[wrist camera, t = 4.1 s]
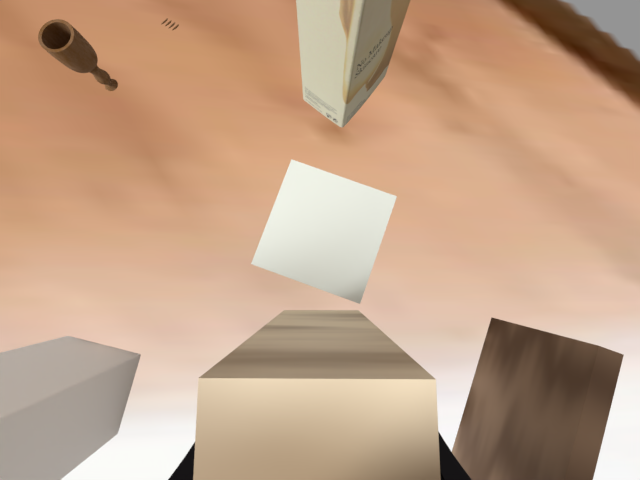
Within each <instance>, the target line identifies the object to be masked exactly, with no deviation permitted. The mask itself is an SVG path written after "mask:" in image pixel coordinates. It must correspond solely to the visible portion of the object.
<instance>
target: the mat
mask: <svg viewBox="0 0 640 480" xmlns="http://www.w3.org/2000/svg"><path fill="white" fill-rule="evenodd" d="M396 198H397V196H395V195H392V194H389V193H386V192H383V191H380V190H378V189H375V188H372V187H369V186H366V185H363V184H360V183H358V182H355V181H352V180H349V179H346V178H343V177H341V176H338V175H335V174H332V173H329V172H326V171H323V170H321V169H318V168H315V167H312V166H309V165H306V164H304V163H301V162H298V161H295V160H292V159H291V162H290V164H289V167H288V170H287V172H286V175H285V177H284V180H283V183H282V185H281V188H280V190H279V193H278V195H277V198H276V201H275V203H274V206H273V208H272V211H271V214H270V216H269V219H268V221H267V224H266V227H265V229H264V232H263V234H262V237H261V239H260V242H259V245H258V247H257V250H256V252H255V255H254V258H253V260H252V263H251V264H252V265H255V266H258V267H261V268H263V269H266V270H269V271H271V272H274V273H277V274H280V275H282V276H285V277H288V278H291V279H293V280H296V281H299V282H301V283H304V284H307V285H310V286H312V287H315V288H318V289H320V290H323V291H326V292H329V293H331V294H334V295H337V296H340V297H342V298H345V299H348V300H350V301H353V302H356V303H359V304H360V303H361V300H362V297H363V294H364V291H365V288H366V285H367V282H368V279H369V276H370V274H371V271H372V268H373V265H374V262H375V259H376V256H377V253H378V250H379V247H380V244H381V241H382V239H383V236H384V233H385V230H386V227H387V224H388V221H389V218H390V215H391V212H392V209H393V207H394V204H395V201H396Z"/></svg>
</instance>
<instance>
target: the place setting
mask: <svg viewBox="0 0 640 480" xmlns="http://www.w3.org/2000/svg"><path fill="white" fill-rule="evenodd" d="M167 20H168V18H167V19H166V20H165V21H163V22H162V24H164V23H165V22H166V21H167ZM171 21H172V20H170V21H169V22H168V23H167V24H166V25H165V26H167V25H169V24H170V23H171ZM162 24H161V25H162ZM174 24H175V22H174V23H173V24H172V25H171V26H170V27H169V28H171V27H172V26H174ZM178 26H179V24H178V25H177V26H175V27H174V28H173V29H172V30H174V29H176V28H177V27H178ZM169 28H168V29H169ZM38 41H39V43H40V45H41V47H42V48H43V49H45V50H46V51H47V52H48V53H49V54H50V55H52V56H53V57H54V58H55V59H57V60H58V61H59V62H61V63H62V64H63V65H65V66H66V67H68V68H69V69H71V70H73V71H75V72H78V73H88V72H90V73H91V74H93V76H94V78H95V79H96V80H97V82H99V83H101V84H104V85H105V88H106V90H108V91H114V90H116V89H117V87H118V82H117V81H116V80H115V79H111V78H110V75H109V74H108V73H107V72H106V71H105V70H102V69H100V68H99V67H98V66H97V62H98V58H97V54H96V52H95V50H94V49H93V47H92V46H91V45H90V44H89V42H88V41H87V40H86V39H85V38H84V37H83V36H82V35H81V34H80V33H79V32H78V31H77V30H76V29H75V28H74V27H73V26H72V25H71V24H69V23H68V22H67V21H65V20H62V19H54V20H50V21H48V22H47V23H45V24H44V25H43V26H42V27H41V29H40V31H39V34H38Z"/></svg>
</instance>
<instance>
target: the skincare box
mask: <svg viewBox="0 0 640 480" xmlns="http://www.w3.org/2000/svg"><path fill="white" fill-rule="evenodd" d="M409 3H410V0H296V6H297V19H298V32H299V46H300V60H301V75H302V89H303V99H304V101H306V102H307V103H308V104H310V105H311V106H312V107H313V108H315V109H316V110H317V111H318V112H320V113H321V114H322V115H324V116H325V117H326V118H328V119H329V120H331V121H332V122H334V123H335V124H337V125H338V126H339V127H341V128H342V127H344V126H345V125H346V124H347V123H348V122H349V121H350V119H351V118H352V117H353V116H354V115H355V114H356V113H357V111H358V110H359V109H360V108H361V107H362V105H363V104H364V103H365V102H366V101H367V99H368V98H369V97H370V95H371V94H372V93H373V92H374V90H375V89H376V88H377V86H378V85H379V84H380V82H381V81H382V80H383V78H384V77H385V75H386V72H387V69H388V66H389V63H390V60H391V57H392V54H393V51H394V48H395V45H396V42H397V39H398V36H399V33H400V30H401V27H402V24H403V21H404V18H405V15H406V12H407V9H408V6H409Z"/></svg>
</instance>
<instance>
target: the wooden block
mask: <svg viewBox="0 0 640 480" xmlns="http://www.w3.org/2000/svg"><path fill="white" fill-rule="evenodd" d="M193 480H441V478H440V456H439V434H438V412H437V390H436V379H435V378H434V377H433V376H432V375H431V374H429V373H428V372H427V371H426V370H425V369H424V368H423V367H422V366H420V365H419V364H418V363H417V362H416V361H415V360H414V359H413V358H411V357H410V356H409V355H408V354H407V353H406V352H405V351H404V350H402V349H401V348H400V347H399V346H398V345H397V344H396V343H395V342H393V341H392V340H391V339H390V338H389V337H388V336H387V335H386V334H384V333H383V332H382V331H381V330H380V329H379V328H378V327H377V326H376V325H374V324H373V323H372V322H371V321H370V320H369V319H368V318H367V317H365V316H364V315H363V314H362V313H361V312H360V311H359V310H284V311H282V312H281V313H280V314H279V315H277V316H276V317H275V318H274V319H272V320H271V321H270V322H269V323H267V324H266V325H265V326H263V327H262V328H261V329H260V330H258V331H257V332H256V333H255V334H253V335H252V336H251V337H250V338H248V339H247V340H246V341H245V342H243V343H242V344H241V345H240V346H238V347H237V348H236V349H234V350H233V351H232V352H231V353H229V354H228V355H227V356H226V357H224V358H223V359H222V360H221V361H219V362H218V363H217V364H216V365H214V366H213V367H212V368H210V369H209V370H208V371H207V372H205V373H204V374H203V375H202V376H200V377H199V378H198V396H197V415H196V435H195V454H194V474H193Z"/></svg>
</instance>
